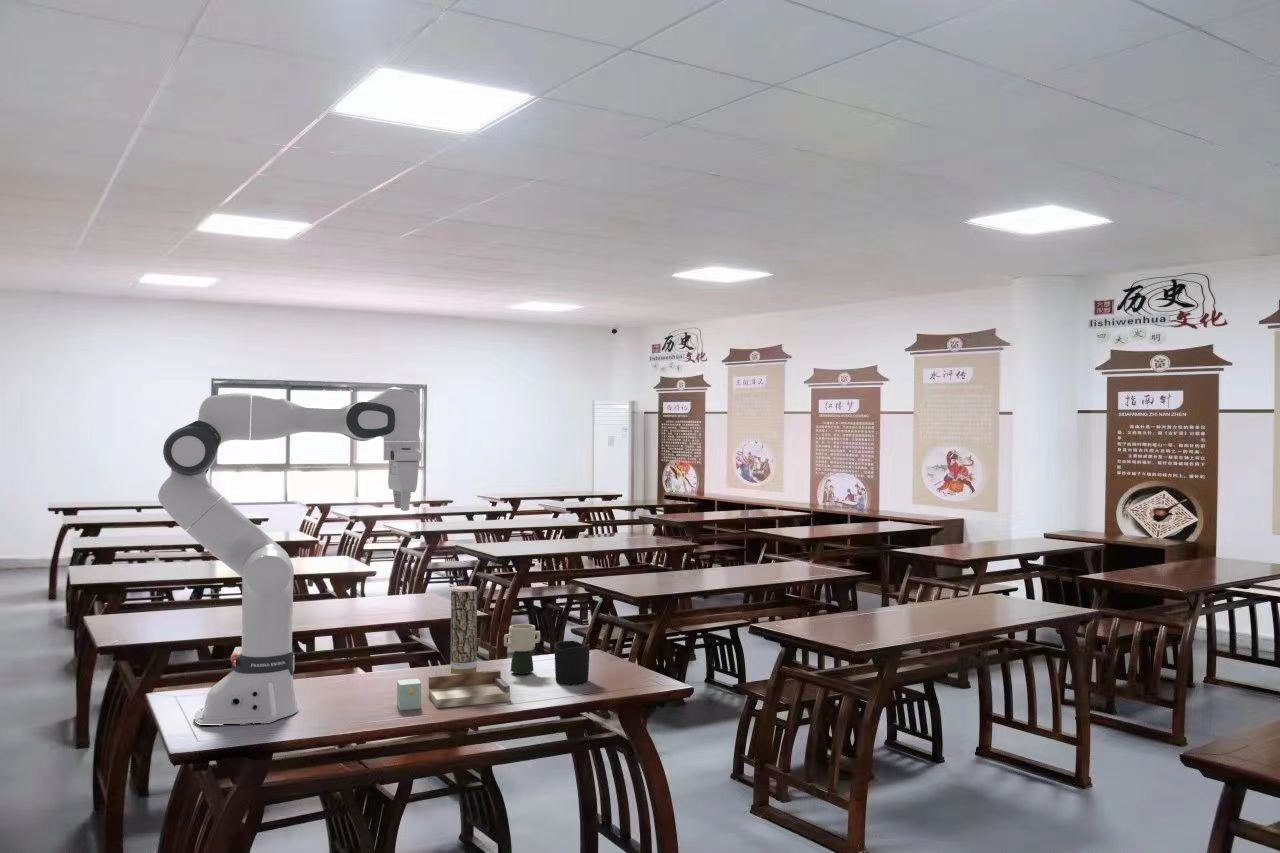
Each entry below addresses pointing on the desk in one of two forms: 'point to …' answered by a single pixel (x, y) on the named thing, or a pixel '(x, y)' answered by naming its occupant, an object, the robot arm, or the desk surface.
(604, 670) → the desk surface
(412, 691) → the mint green box
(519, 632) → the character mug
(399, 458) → the robot arm
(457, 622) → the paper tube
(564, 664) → the pen holder
